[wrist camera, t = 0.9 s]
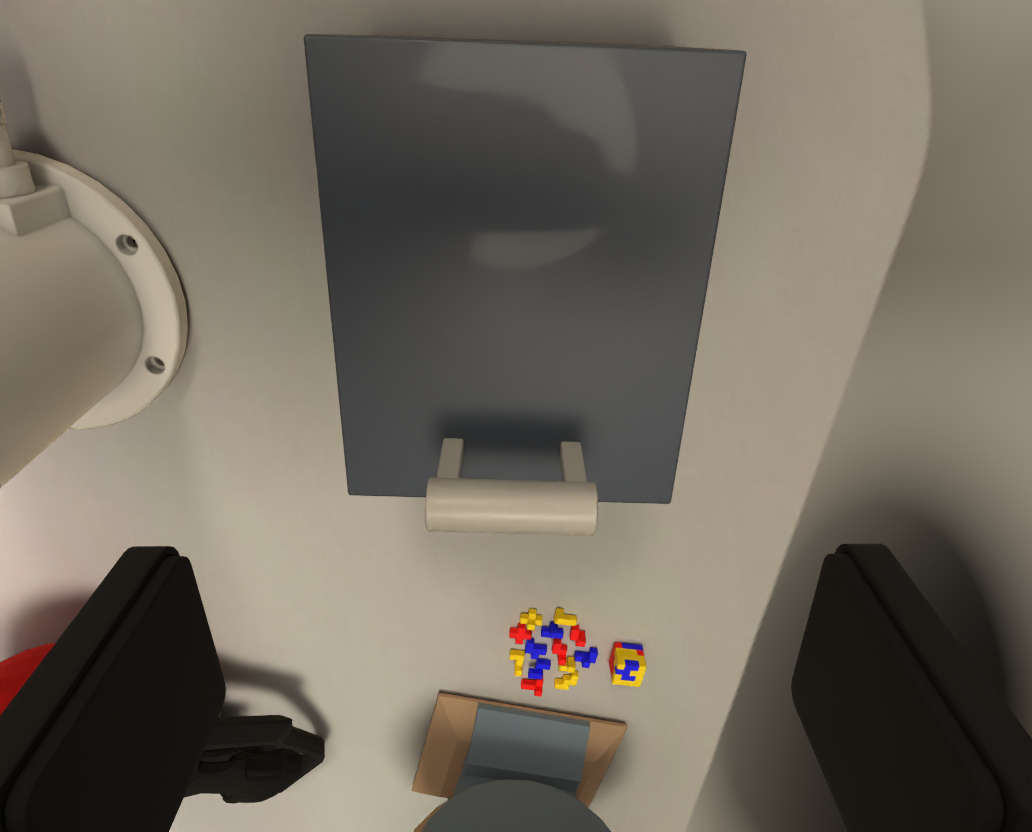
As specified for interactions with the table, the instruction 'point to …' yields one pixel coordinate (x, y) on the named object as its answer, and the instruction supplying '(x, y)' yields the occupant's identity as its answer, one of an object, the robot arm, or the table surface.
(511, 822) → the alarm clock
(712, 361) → the table surface
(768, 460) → the table surface
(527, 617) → the building blocks
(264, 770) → the decorative object
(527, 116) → the box lid
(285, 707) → the table surface
